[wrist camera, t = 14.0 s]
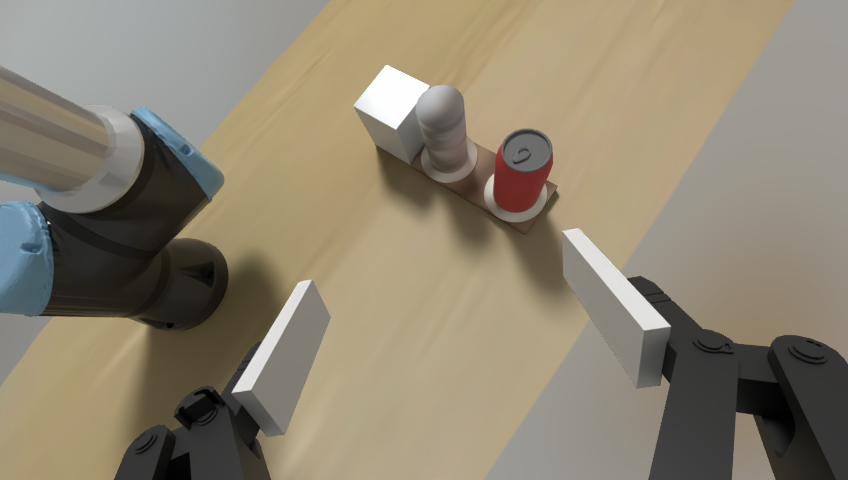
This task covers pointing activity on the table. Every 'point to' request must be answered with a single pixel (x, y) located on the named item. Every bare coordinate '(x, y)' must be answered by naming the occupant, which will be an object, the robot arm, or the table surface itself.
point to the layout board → (463, 157)
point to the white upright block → (393, 113)
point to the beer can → (521, 169)
